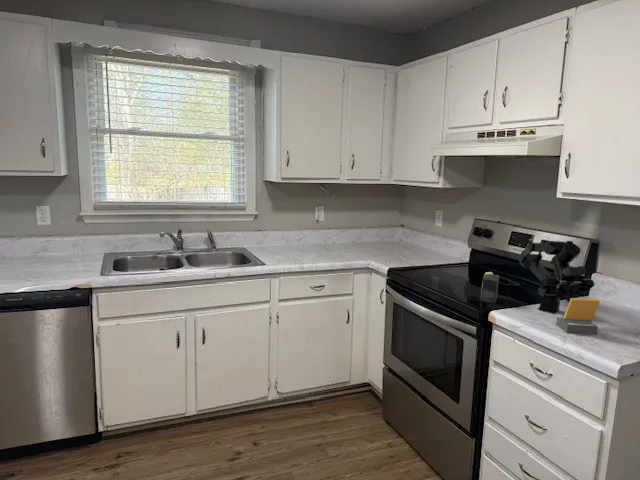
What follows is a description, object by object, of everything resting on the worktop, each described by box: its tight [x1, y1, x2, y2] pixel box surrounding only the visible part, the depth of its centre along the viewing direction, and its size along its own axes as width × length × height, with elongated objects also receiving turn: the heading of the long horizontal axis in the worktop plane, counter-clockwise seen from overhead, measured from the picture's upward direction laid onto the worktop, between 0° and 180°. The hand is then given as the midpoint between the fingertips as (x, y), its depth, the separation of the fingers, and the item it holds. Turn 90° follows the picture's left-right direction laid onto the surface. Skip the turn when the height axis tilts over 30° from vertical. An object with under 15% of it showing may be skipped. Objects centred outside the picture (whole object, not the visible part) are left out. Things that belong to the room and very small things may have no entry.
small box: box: [480, 273, 500, 305], centre depth 204 cm, size 11×6×10 cm, turn 155°
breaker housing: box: [555, 317, 599, 335], centre depth 171 cm, size 8×11×3 cm
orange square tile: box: [562, 297, 600, 323], centre depth 169 cm, size 1×10×10 cm, turn 88°
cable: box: [483, 271, 521, 287], centre depth 238 cm, size 16×16×4 cm
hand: (572, 303), depth 175 cm, fingers closed
